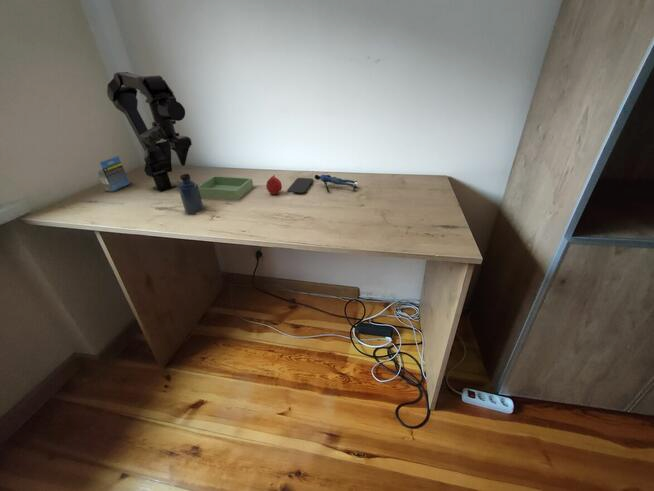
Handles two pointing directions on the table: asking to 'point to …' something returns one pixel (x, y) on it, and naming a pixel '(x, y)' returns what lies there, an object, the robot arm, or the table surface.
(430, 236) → the table surface
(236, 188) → the bin
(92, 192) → the table surface
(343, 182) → the person figurine
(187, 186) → the bottle
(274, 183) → the onion
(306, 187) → the phone
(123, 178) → the tape cartridge
